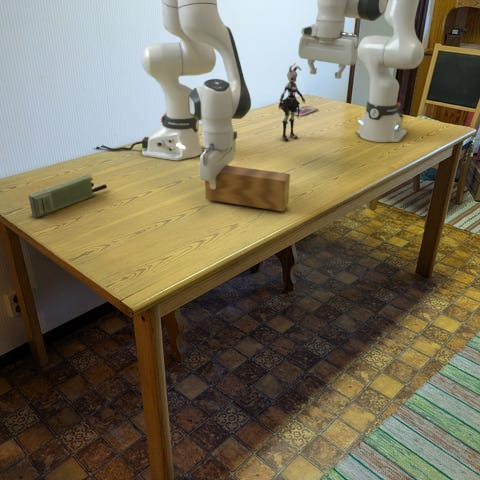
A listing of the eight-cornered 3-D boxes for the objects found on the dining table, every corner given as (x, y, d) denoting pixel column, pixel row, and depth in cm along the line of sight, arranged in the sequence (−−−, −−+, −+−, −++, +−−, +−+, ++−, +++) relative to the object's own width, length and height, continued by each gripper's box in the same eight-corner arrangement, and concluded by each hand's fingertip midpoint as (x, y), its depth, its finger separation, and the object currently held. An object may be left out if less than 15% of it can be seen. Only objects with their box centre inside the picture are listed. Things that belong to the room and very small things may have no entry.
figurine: (281, 144, 200) (285, 65, 186) (270, 140, 204) (273, 62, 189) (305, 136, 209) (311, 60, 194) (294, 133, 213) (299, 58, 198)
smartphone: (318, 108, 245) (301, 114, 235) (318, 110, 245) (301, 116, 235) (305, 105, 249) (288, 111, 238) (305, 107, 249) (288, 113, 239)
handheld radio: (30, 215, 144) (102, 188, 161) (37, 219, 142) (109, 191, 159) (26, 193, 140) (100, 168, 157) (33, 197, 138) (107, 171, 155)
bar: (205, 199, 153) (204, 169, 148) (212, 192, 157) (211, 163, 153) (283, 211, 146) (285, 181, 141) (288, 203, 150) (290, 173, 146)
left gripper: (214, 152, 136) (215, 199, 143) (239, 130, 153) (238, 173, 159) (192, 149, 137) (194, 195, 144) (219, 128, 154) (220, 170, 161)
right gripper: (364, 32, 154) (358, 79, 161) (308, 26, 166) (305, 70, 172) (353, 34, 150) (348, 82, 157) (297, 28, 161) (294, 73, 168)
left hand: (217, 183), depth 152 cm, fingers closed on bar, 5 cm apart
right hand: (325, 76), depth 165 cm, fingers open, 8 cm apart
